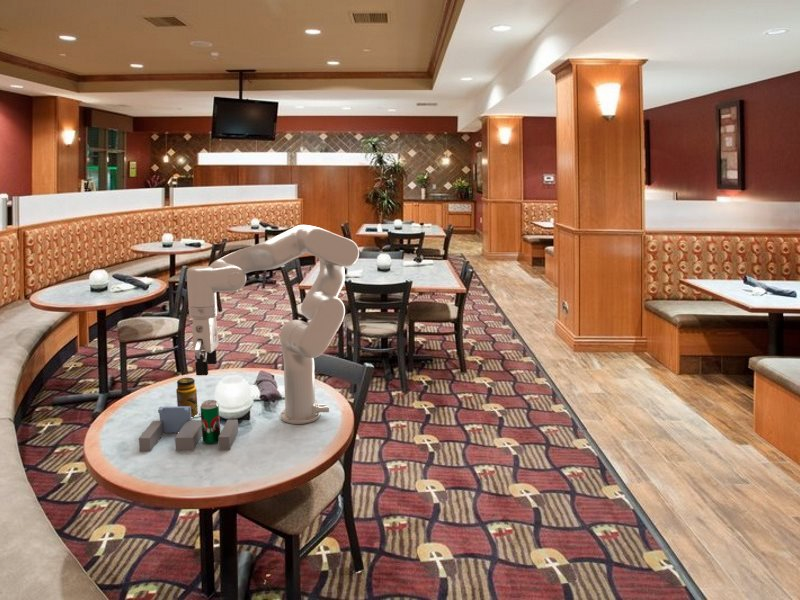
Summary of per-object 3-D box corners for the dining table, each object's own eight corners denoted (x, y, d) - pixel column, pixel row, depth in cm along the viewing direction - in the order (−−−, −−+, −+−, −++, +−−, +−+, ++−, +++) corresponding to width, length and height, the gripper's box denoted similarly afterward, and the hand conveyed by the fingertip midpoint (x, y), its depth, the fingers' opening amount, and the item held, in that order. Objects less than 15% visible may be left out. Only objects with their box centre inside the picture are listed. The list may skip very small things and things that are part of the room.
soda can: (221, 436, 184) (219, 398, 181) (219, 444, 179) (217, 405, 176) (204, 437, 183) (201, 399, 180) (201, 445, 178) (198, 406, 176)
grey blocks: (239, 430, 188) (237, 405, 186) (229, 450, 176) (228, 423, 174) (155, 431, 187) (153, 406, 185) (139, 451, 174) (137, 424, 173)
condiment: (201, 416, 198) (199, 381, 196) (174, 422, 194) (171, 386, 191) (195, 409, 204) (193, 374, 202) (168, 414, 200) (166, 379, 197)
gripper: (209, 318, 164) (212, 379, 168) (224, 303, 181) (226, 359, 185) (180, 318, 164) (184, 379, 168) (198, 303, 181) (201, 359, 184)
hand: (206, 369), depth 176 cm, fingers open, 9 cm apart
